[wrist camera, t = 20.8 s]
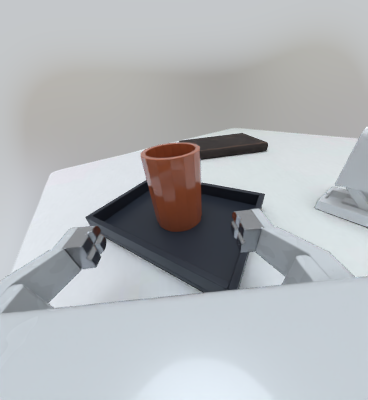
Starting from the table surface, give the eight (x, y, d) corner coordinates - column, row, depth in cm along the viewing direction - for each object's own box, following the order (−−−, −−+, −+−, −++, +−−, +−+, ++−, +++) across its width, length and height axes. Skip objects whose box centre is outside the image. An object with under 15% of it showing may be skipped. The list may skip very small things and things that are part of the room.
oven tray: (93, 230, 21) (85, 217, 19) (157, 185, 30) (155, 174, 29) (232, 308, 12) (236, 294, 10) (261, 208, 21) (264, 193, 20)
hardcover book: (179, 147, 54) (179, 140, 53) (241, 139, 55) (242, 133, 54) (185, 162, 40) (184, 153, 39) (266, 151, 41) (268, 142, 40)
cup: (147, 223, 20) (127, 156, 15) (173, 199, 24) (164, 141, 19) (188, 238, 17) (179, 162, 12) (209, 208, 21) (209, 143, 16)
